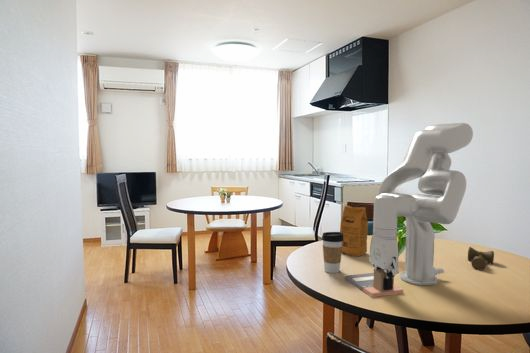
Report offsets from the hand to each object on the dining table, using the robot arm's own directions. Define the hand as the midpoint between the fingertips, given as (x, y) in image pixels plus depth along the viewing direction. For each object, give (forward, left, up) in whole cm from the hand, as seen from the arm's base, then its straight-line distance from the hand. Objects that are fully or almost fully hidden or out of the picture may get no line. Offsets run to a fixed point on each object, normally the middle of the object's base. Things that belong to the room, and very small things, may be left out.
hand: (383, 286), depth 118 cm
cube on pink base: (0, 0, -2) cm, 2 cm away
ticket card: (0, -9, -2) cm, 9 cm away
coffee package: (-15, -45, -2) cm, 47 cm away
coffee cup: (+6, -25, -2) cm, 26 cm away
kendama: (-59, -16, -3) cm, 61 cm away
